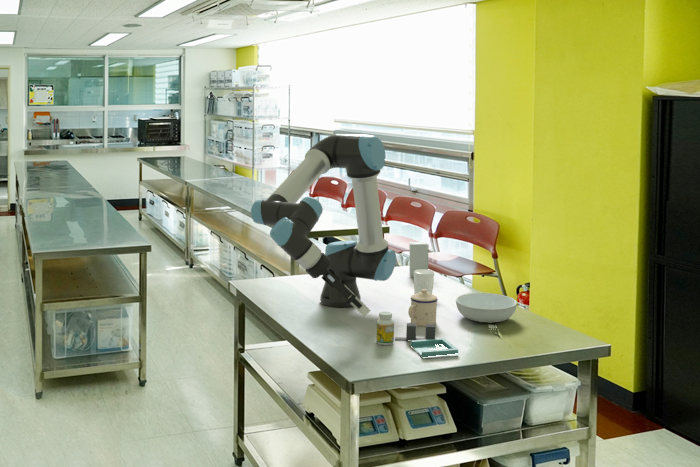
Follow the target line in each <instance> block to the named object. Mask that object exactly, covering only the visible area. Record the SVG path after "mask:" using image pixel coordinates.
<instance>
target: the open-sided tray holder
mask: <svg viewBox="0 0 700 467" xmlns="http://www.w3.org/2000/svg"><path fill="white" fill-rule="evenodd" d="M435 344H436V345H437V344H438V345H439V344H443V345H444V346H445V347H447V348H448V349H442V350H428V349H429V348H430V349H431V348H433V349H434V348H435V349H436V346H435ZM411 346H412V347H413V348H414V349H415V350H416V351H417V352H418V353H419V354H420V355H421V356H422V357H428V356H436V355H447V354H455V353H458V354H459V349H458V348H457V347H456V346H455V345H453V344H452V343H451V342H450V341H448V340H447V338H445V337H441V338H435V339H425V340H412V341H410V347H411ZM439 347H442V346H441V345H439ZM437 348H438V347H437ZM421 356H420V357H421ZM422 357H421V358H422Z"/></svg>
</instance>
